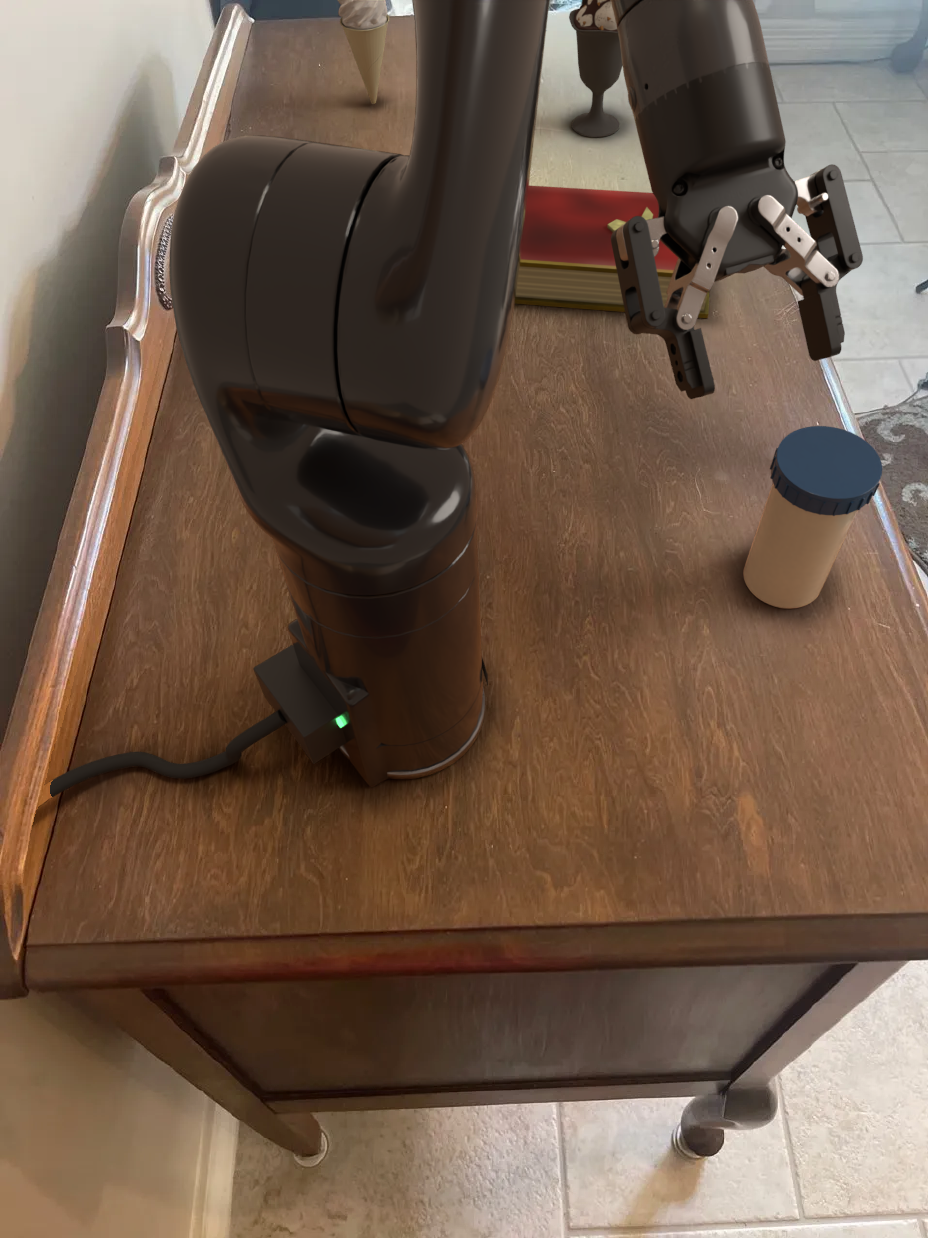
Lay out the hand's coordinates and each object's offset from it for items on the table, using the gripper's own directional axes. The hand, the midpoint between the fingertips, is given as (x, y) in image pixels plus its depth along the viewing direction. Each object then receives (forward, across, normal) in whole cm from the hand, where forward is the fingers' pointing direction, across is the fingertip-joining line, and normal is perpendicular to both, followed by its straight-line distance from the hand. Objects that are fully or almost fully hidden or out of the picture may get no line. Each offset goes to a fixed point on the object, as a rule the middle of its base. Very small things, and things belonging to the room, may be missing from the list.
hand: (765, 376), depth 54 cm
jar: (+13, 0, +3) cm, 13 cm away
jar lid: (+6, 0, -4) cm, 7 cm away
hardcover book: (-13, +4, +29) cm, 32 cm away
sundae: (-28, +16, +44) cm, 55 cm away
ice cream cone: (-44, -4, +49) cm, 66 cm away
